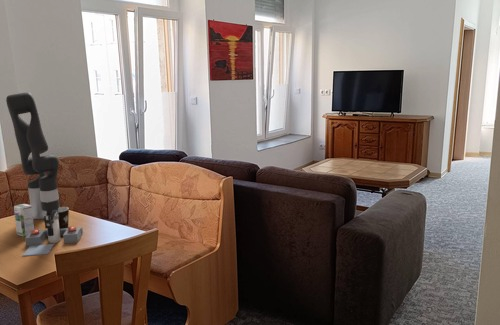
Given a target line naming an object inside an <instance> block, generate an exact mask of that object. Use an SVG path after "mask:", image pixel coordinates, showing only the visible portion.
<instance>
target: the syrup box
mask: <svg viewBox="0 0 500 325" xmlns="http://www.w3.org/2000/svg"><path fill="white" fill-rule="evenodd" d="M13 212H14V218H15V219H14V220H15V221H14V222H15V229H16V235H17V236H20V237H23V238H25V237H26V236H27V235H28V234H29V233H30V231H31V230H34V229H35V226H34V219H33V214H32V206H31V205H30V204H27V203H21V204H17V205H14V206H13Z"/></svg>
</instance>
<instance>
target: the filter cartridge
mask: <svg viewBox="0 0 500 325" xmlns="http://www.w3.org/2000/svg"><path fill="white" fill-rule="evenodd" d="M58 218H59V216H58V215H56V217H55V223H53V231H54V235H53V236H48V237H47V239H48V243H50V244H55V243H59V242H60V241H61V239H62V238H61V236H60V230H59V221H58ZM51 221H53V220H51ZM49 226H50V224H49ZM46 230H47V231H48V229H46Z"/></svg>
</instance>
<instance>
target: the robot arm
mask: <svg viewBox="0 0 500 325" xmlns="http://www.w3.org/2000/svg"><path fill="white" fill-rule="evenodd" d="M5 100H6V101H5V102H6V106H7V109H8V113H9V115H10V118H11V121H12V125H13V130H14V135H15V139H16V144H17V146H18V150H19V155H20V161H21V167H22V172H23V173H24V175H26V176H31V175H32V176H33V175H35V176H36V175H39V176H37V177H36V178H34V179H31V180H30V181H28V182H27V188H28V189H27V190H28V196H29V205H31V206H32V214H33V220H43V221H44V228H45V229H44V230H47V229H48V236H53V235H54V231H53V223H55V217H56V215H58V216H59V212H58V208H59V207H61V205H60V197H59V196H60V195H59V191H58V185H57V184H58V183H57V177H58V171H59V166H60V162H59V158H58V157H57V156H55V155H53V154H49V155H43V156H42V155H41V154H44V153H46V152H47V151H48V150H49V145H48V143H47V140H46V138H45V135H44V132H43V129H42V128H43V127H42V124H41V119H40V116H39V113H38V112H39V111H38V108H37V105H36V101H35V99H34V97H33V94H32V93H31V92H29V91H28V92H21V93H20V92H19V93H15V94H14V93H13V94H10V95H7V96H6V98H5ZM27 113H29V114H30V122H29V123H28V122H27V121H25V120H24V118H23V119H22V117H21V116H20V115H22V114H27ZM30 155H31V157H30ZM58 219H59V218H58ZM51 220H53V221H51ZM49 224H50V226H49Z"/></svg>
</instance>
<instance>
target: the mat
mask: <svg viewBox="0 0 500 325" xmlns="http://www.w3.org/2000/svg"><path fill="white" fill-rule="evenodd" d="M54 245H55V243H50V244H49V243H48V244H41V245H35V246H28V247H27V249H26V250H25V252H24V253H22V257H30V256H31V257H32V256H40V255H41V256H42V255H49V253H50V251H51V250H52V249H53V247H54Z"/></svg>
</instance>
